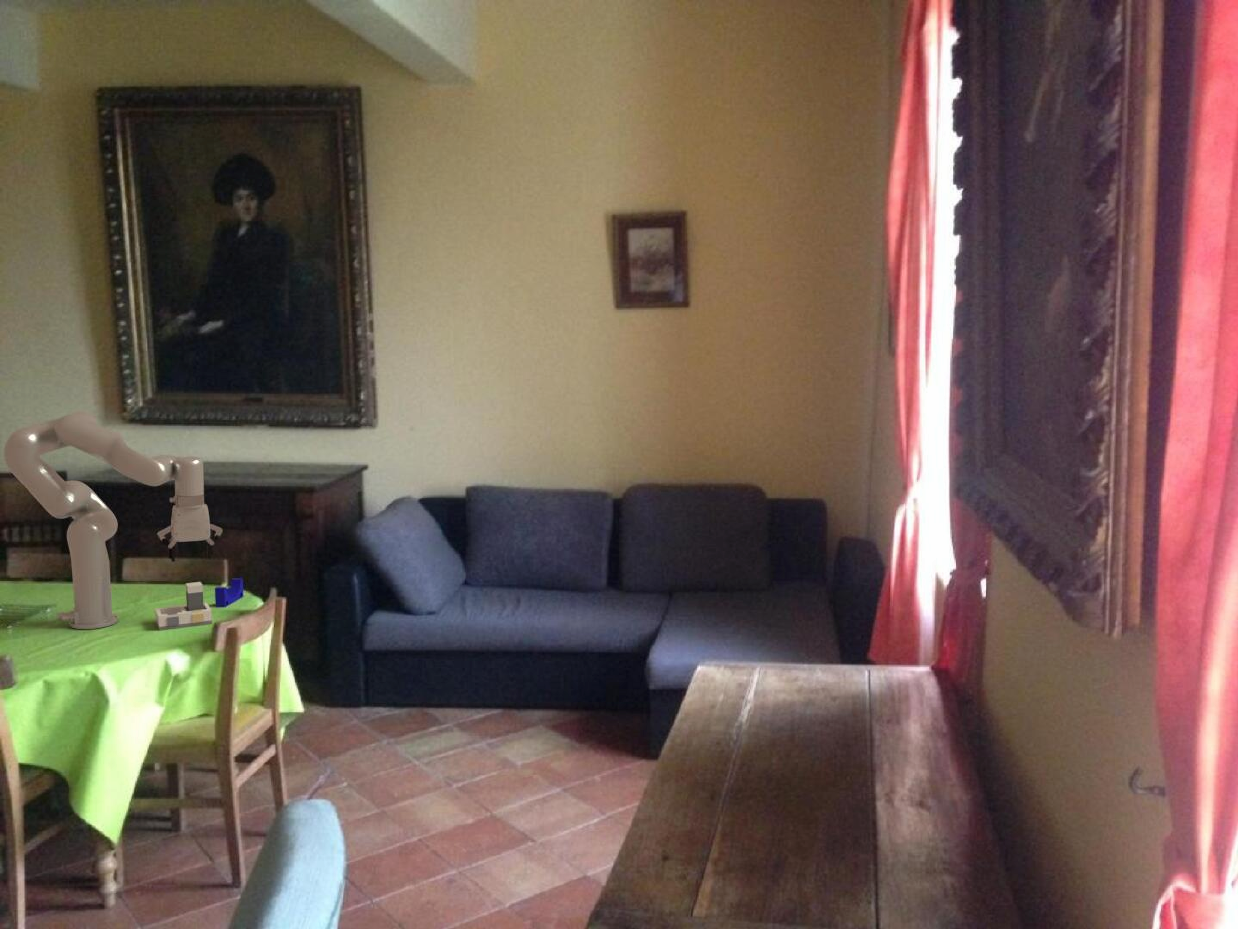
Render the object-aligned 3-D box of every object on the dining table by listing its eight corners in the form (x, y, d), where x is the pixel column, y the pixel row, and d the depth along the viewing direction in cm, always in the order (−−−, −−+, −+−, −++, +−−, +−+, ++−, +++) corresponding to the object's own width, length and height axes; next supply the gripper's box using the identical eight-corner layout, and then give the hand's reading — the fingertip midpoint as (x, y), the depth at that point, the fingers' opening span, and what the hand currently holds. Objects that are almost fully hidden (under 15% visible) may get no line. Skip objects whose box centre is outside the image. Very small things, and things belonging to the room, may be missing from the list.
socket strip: (159, 630, 297) (158, 616, 297) (155, 622, 305) (154, 607, 305) (212, 623, 304) (211, 609, 304) (207, 615, 312) (206, 601, 312)
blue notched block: (229, 596, 333) (228, 578, 332) (243, 597, 333) (242, 578, 332) (211, 607, 321) (210, 588, 320) (225, 607, 321) (224, 588, 320)
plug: (189, 620, 304) (187, 586, 302) (187, 617, 307) (185, 583, 306) (204, 618, 306) (202, 585, 304) (202, 615, 309) (200, 581, 308)
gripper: (158, 504, 294) (159, 565, 296) (224, 501, 302) (225, 559, 305) (155, 500, 300) (156, 559, 303) (219, 496, 309) (220, 554, 311)
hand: (191, 559), depth 304 cm, fingers open, 9 cm apart
